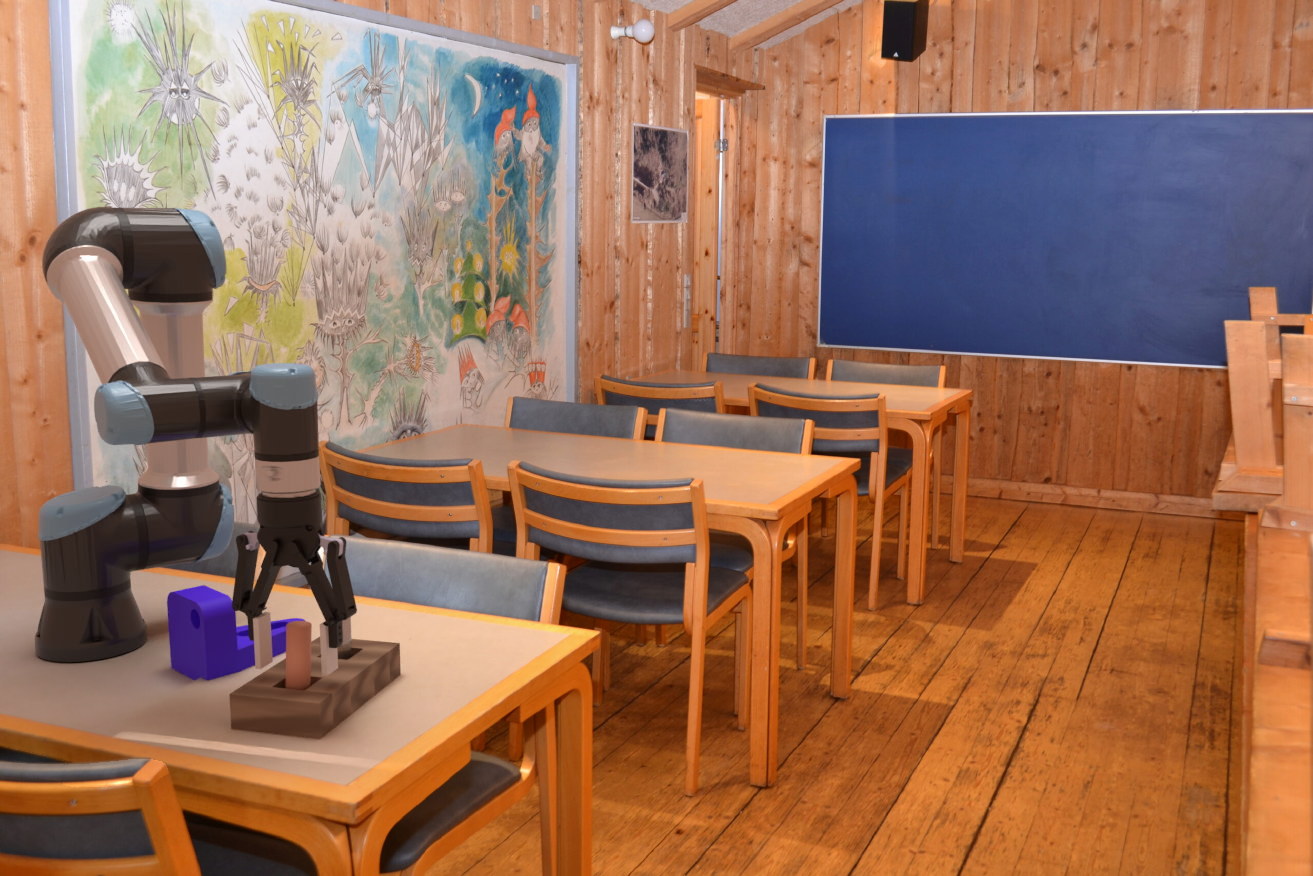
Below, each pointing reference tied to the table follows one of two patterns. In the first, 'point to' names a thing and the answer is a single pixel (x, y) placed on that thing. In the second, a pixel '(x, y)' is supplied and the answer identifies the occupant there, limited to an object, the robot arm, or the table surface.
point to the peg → (298, 655)
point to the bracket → (212, 635)
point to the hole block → (315, 692)
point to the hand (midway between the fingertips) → (296, 668)
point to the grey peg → (345, 641)
